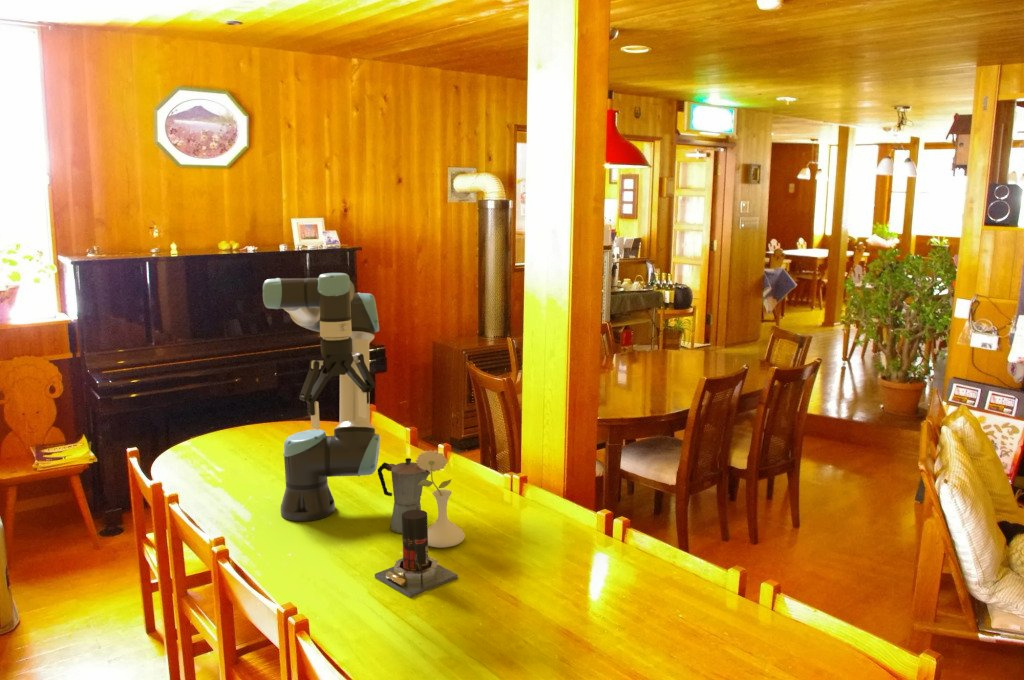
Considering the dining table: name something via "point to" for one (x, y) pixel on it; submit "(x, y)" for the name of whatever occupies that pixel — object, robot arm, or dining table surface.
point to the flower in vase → (439, 503)
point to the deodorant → (415, 540)
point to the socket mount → (415, 578)
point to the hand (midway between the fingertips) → (339, 422)
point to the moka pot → (403, 489)
